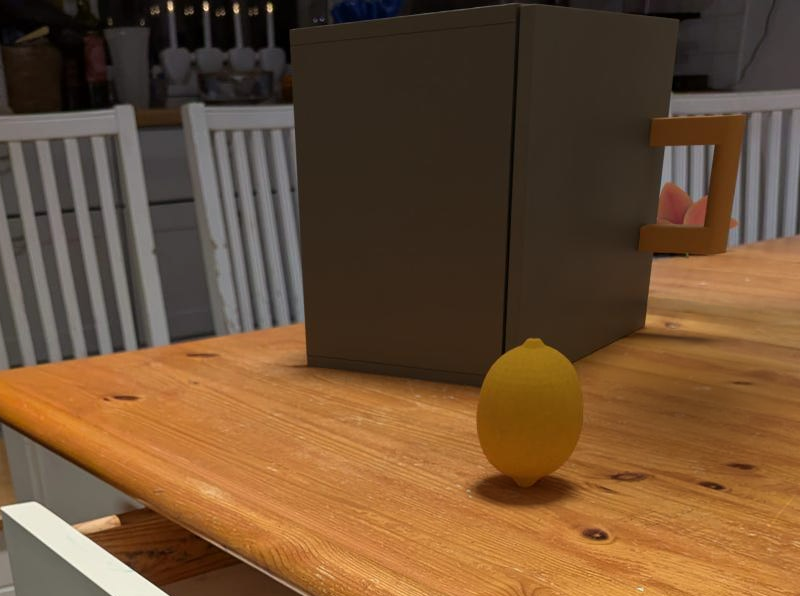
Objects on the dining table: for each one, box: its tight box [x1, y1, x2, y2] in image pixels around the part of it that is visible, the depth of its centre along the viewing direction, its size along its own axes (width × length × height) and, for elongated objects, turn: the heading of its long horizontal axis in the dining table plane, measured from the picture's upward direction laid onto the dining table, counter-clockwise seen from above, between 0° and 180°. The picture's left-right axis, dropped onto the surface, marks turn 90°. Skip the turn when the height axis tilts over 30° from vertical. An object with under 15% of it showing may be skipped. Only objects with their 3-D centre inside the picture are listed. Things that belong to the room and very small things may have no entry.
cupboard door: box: [505, 3, 747, 364], centre depth 71 cm, size 8×26×24 cm, turn 143°
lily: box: [653, 181, 739, 259], centre depth 113 cm, size 12×12×10 cm
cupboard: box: [289, 2, 529, 389], centre depth 79 cm, size 18×26×24 cm
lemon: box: [475, 338, 585, 489], centre depth 51 cm, size 6×6×8 cm
